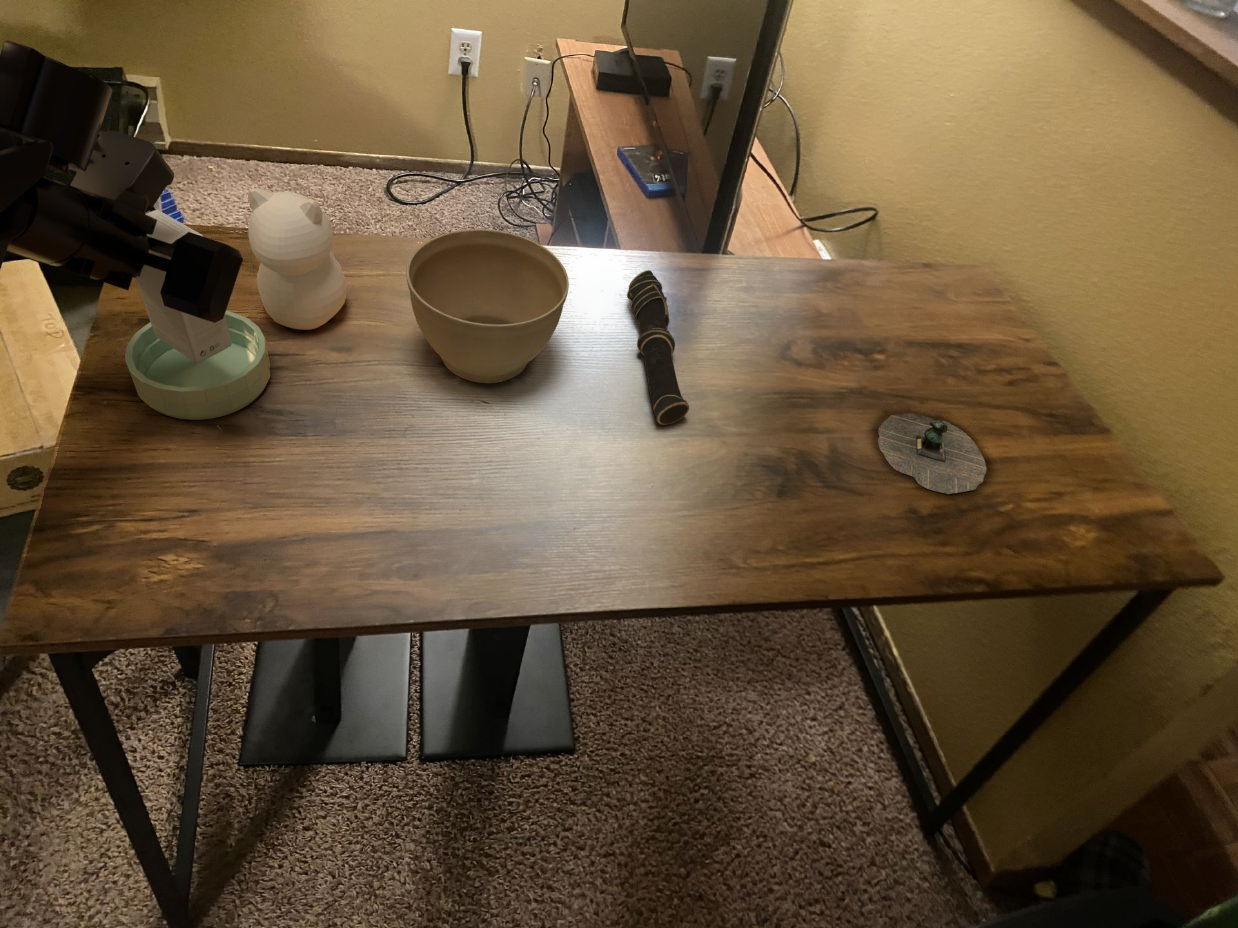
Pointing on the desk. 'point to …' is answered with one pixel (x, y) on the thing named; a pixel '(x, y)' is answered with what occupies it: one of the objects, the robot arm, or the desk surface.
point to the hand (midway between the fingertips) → (187, 276)
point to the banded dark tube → (657, 347)
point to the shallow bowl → (200, 373)
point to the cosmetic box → (173, 325)
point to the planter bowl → (486, 300)
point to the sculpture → (932, 453)
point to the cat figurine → (295, 259)
